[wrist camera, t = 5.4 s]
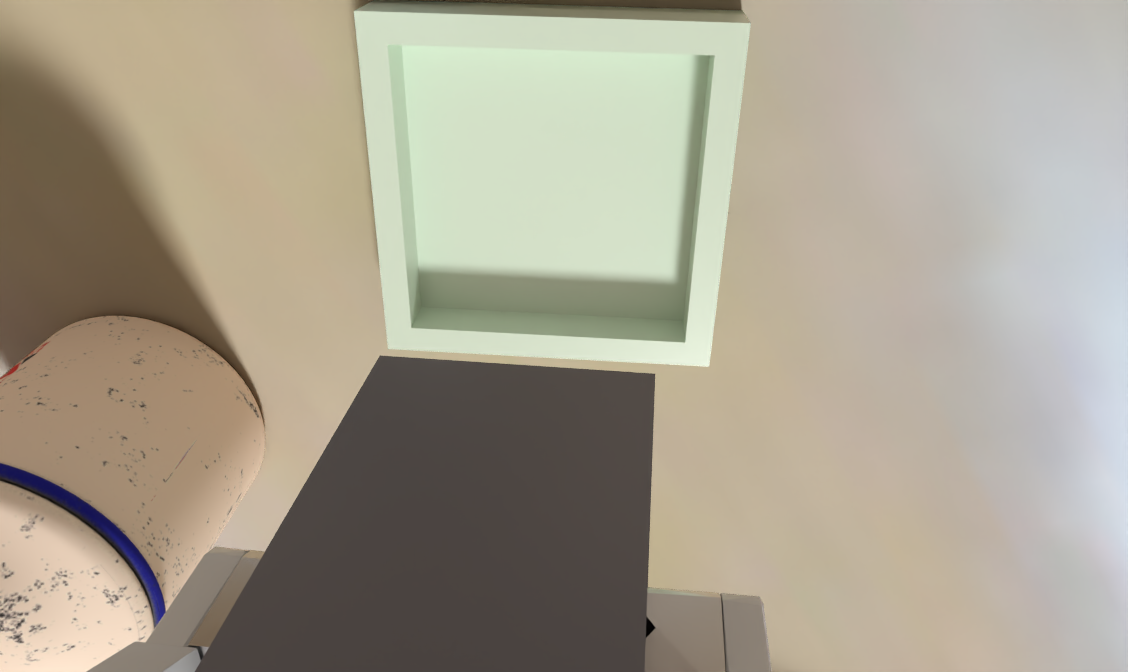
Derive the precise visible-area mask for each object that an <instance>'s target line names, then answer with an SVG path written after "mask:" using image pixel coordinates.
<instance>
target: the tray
mask: <svg viewBox="0 0 1128 672" xmlns="http://www.w3.org/2000/svg"><path fill="white" fill-rule="evenodd" d="M354 18H355V28H356V37H357V47H358V57H359V67H360V77H361V87H362V97H363V107H364V116H365V126H366V136H367V146H368V156H369V166H370V176H371V186H372V195H373V205H374V215H375V225H376V235H377V245H378V255H379V265H380V274H381V284H382V294H383V304H384V314H385V324H386V334H387V344H388V349H398V350H416V351H434V352H453V353H471V354H489V355H507V356H525V357H544V358H562V359H580V360H598V361H617V362H635V363H653V364H671V365H689V366H708V367H709V363H710V355H711V347H712V339H713V330H714V322H715V314H716V306H717V298H718V289H719V281H720V273H721V265H722V256H723V248H724V240H725V232H726V223H727V215H728V207H729V199H730V191H731V182H732V174H733V166H734V158H735V149H736V141H737V133H738V125H739V116H740V108H741V100H742V92H743V84H744V75H745V67H746V59H747V51H748V42H749V34H750V26H751V23H750V21H749V20H748V18H747V17H746V15H745V14H744V12H743V11H742V10H712V9H679V8H645V7H612V6H579V5H546V4H513V3H480V2H447V1H414V0H373V1H371V2H369V3H367V4H366V5H364V6H362V7H360V8H358V9H356V10H354Z"/></svg>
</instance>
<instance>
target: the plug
mask: <svg viewBox="0 0 1128 672" xmlns="http://www.w3.org/2000/svg"><path fill="white" fill-rule="evenodd" d="M654 391H655V374H649V373H634V372H619V371H604V370H589V369H573V368H558V367H543V366H528V365H513V364H498V363H483V362H467V361H452V360H437V359H422V358H407V357H392V356H379V358H378V360H377V362H376V363H375V365H374V367H373V368H372V370H371V372H370V374H369V375H368V377H367V379H366V380H365V382H364V384H363V386H362V387H361V389H360V391H359V392H358V394H357V396H356V397H355V399H354V401H353V403H352V404H351V406H350V408H349V409H348V411H347V413H346V415H345V416H344V418H343V420H342V421H341V423H340V425H339V426H338V428H337V430H336V432H335V433H334V435H333V437H332V438H331V440H330V442H329V444H328V445H327V447H326V449H325V450H324V452H323V454H322V455H321V457H320V459H319V461H318V462H317V464H316V466H315V467H314V469H313V471H312V473H311V474H310V476H309V478H308V479H307V481H306V483H305V484H304V486H303V488H302V490H301V491H300V493H299V495H298V496H297V498H296V500H295V502H294V503H293V505H292V507H291V508H290V510H289V512H288V513H287V515H286V517H285V519H284V520H283V522H282V524H281V525H280V527H279V529H278V531H277V532H276V534H275V536H274V537H273V539H272V541H271V542H270V544H269V546H268V548H267V549H266V551H265V553H264V554H263V556H262V558H261V560H260V561H259V563H258V565H257V566H256V568H255V570H254V571H253V573H252V575H251V577H250V578H249V580H248V582H247V583H246V585H245V587H244V589H243V590H242V592H241V594H240V595H239V597H238V599H237V600H236V602H235V604H234V606H233V607H232V609H231V611H230V612H229V614H228V616H227V618H226V619H225V621H224V623H223V624H222V626H221V628H220V629H219V631H218V633H217V635H216V636H215V638H214V640H213V641H212V643H211V645H210V647H209V648H208V650H207V652H206V653H205V655H204V657H203V659H202V660H201V662H200V664H199V665H198V667H197V669H196V670H195V672H645V644H646V616H647V588H648V560H649V532H650V503H651V475H652V447H653V419H654Z"/></svg>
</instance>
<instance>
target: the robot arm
mask: <svg viewBox="0 0 1128 672" xmlns="http://www.w3.org/2000/svg"><path fill="white" fill-rule="evenodd" d="M264 553H265V552H263V551H255V550H241V549H233V548H224V547H214V548H213V549H211V550H210V551H209V552H207V553H206V554H205V555H204V556H203V558H202V559H201V561H200V562H199V563H198V565H197V566H196V568H195V569H194V571H193V572H192V574H191V575H190V577H189V578H188V580H187V581H186V583H185V584H184V586H183V587H182V589H181V590H180V592H179V593H178V595H177V596H176V598H175V599H174V601H173V602H172V604H171V605H170V607H169V608H168V610H167V611H166V613H165V614H164V616H163V617H162V618H161V620H160V621H159V623H158V624H157V626H156V627H155V629H154V630H153V632H152V633H151V635H150V636H149V638H148V639H147V641H146V642H133V643H132V644H130V645H128V646H127V647H125V648H123V649H122V650H120V651H119V652H117V653H115V654H114V655H112V656H111V657H109V658H107V659H106V660H104V661H102V662H101V663H99V664H98V665H96V666H94V667H93V668H91V669H90V670H88V671H86V672H195V670H196V669H197V667H198V665H199V664H200V662H201V660H202V659H203V657H204V655H205V653H206V652H207V650H208V648H209V647H210V645H211V643H212V641H213V640H214V638H215V636H216V635H217V633H218V631H219V629H220V628H221V626H222V624H223V623H224V621H225V619H226V618H227V616H228V614H229V612H230V611H231V609H232V607H233V606H234V604H235V602H236V600H237V599H238V597H239V595H240V594H241V592H242V590H243V589H244V587H245V585H246V583H247V582H248V580H249V578H250V577H251V575H252V573H253V571H254V570H255V568H256V566H257V565H258V563H259V561H260V560H261V558H262V556H263V554H264ZM645 672H771V663H770V655H769V647H768V639H767V630H766V622H765V614H764V606H763V602H762V600H761V598H760V597H759V596H747V595H736V594H724V593H721V594H720V595H719V593H714V592H702V591H689V590H677V589H664V588H652V587H648V588H647V616H646V644H645Z"/></svg>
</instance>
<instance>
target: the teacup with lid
mask: <svg viewBox="0 0 1128 672" xmlns="http://www.w3.org/2000/svg"><path fill="white" fill-rule="evenodd" d="M264 452H265V429H264V423H263V419H262V416H261V413H260V410H259V407H258V405H257V403H256V401H255V398H254V397H253V395H252V393H251V391H250V390H249V388H248V387H247V385H246V384H245V382H244V381H243V380H242V378H241V377H240V376H239V375H238V373H237V372H236V371H235V370H234V369H233V368H232V367H231V366H230V365H229V364H228V363H227V362H226V361H225V360H224V359H223V358H222V357H221V356H220V355H218V354H217V353H216V352H215V351H213V350H212V349H211V348H209V347H208V346H207V345H205V344H204V343H202V342H200V341H199V340H197V339H196V338H194V337H192V336H190V335H188V334H186V333H184V332H182V331H180V330H178V329H176V328H173V327H170V326H168V325H165V324H162V323H159V322H155V321H152V320H148V319H143V318H138V317H130V316H100V317H94V318H88V319H85V320H81V321H78V322H75V323H73V324H70V325H68V326H66V327H64V328H63V329H61V330H59V331H57V332H56V333H55V334H53V335H52V336H51V337H49V338H48V339H47V340H46V341H44V342H43V343H42V344H41V345H40V346H38V347H37V348H36V349H35V350H33V351H32V352H31V353H30V354H29V355H27V356H26V357H25V358H24V359H22V360H21V361H20V362H19V363H18V364H16V365H15V366H14V367H13V368H11V369H10V370H9V371H8V372H6V373H5V374H4V375H3V376H2V377H0V672H86V671H88V670H90V669H91V668H93V667H94V666H96V665H98V664H99V663H101V662H102V661H104V660H106V659H107V658H109V657H111V656H112V655H114V654H115V653H117V652H119V651H120V650H122V649H123V648H125V647H127V646H128V645H130V644H132V643H133V642H146V641H147V639H148V638H149V636H150V635H151V633H152V632H153V630H154V629H155V627H156V626H157V624H158V623H159V621H160V620H161V618H162V617H163V616H164V614H165V613H166V611H167V610H168V608H169V607H170V605H171V604H172V602H173V601H174V599H175V598H176V596H177V595H178V593H179V592H180V590H181V589H182V587H183V586H184V584H185V583H186V581H187V580H188V578H189V577H190V575H191V574H192V572H193V571H194V569H195V568H196V566H197V565H198V563H199V562H200V561H201V559H202V558H203V556H204V555H205V554H206V553H207V552H209V551H210V550H211V549H212V547H213V545H214V544H215V542H216V541H217V539H218V537H219V536H220V534H221V532H222V531H223V529H224V528H225V526H226V524H227V523H228V521H229V520H230V518H231V516H232V515H233V513H234V511H235V510H236V508H237V507H238V505H239V503H240V502H241V500H242V498H243V497H244V495H245V494H246V492H247V490H248V489H249V487H250V486H251V484H252V482H253V481H254V479H255V477H256V476H257V474H258V472H259V469H260V467H261V465H262V461H263V458H264Z"/></svg>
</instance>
